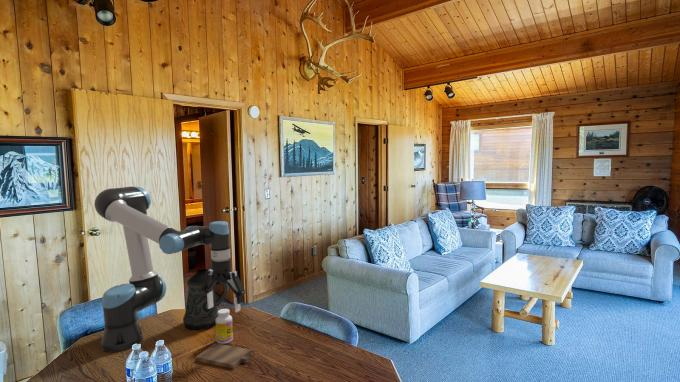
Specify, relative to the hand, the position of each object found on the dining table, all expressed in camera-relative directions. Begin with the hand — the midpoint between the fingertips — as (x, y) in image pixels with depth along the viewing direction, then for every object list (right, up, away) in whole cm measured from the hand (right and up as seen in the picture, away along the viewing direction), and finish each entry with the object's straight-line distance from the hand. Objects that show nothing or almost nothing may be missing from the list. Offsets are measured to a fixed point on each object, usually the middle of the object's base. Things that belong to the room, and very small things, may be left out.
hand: (224, 309), depth 153 cm
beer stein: (-15, -12, +19) cm, 27 cm away
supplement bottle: (0, -14, +1) cm, 14 cm away
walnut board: (+5, -15, -12) cm, 20 cm away
